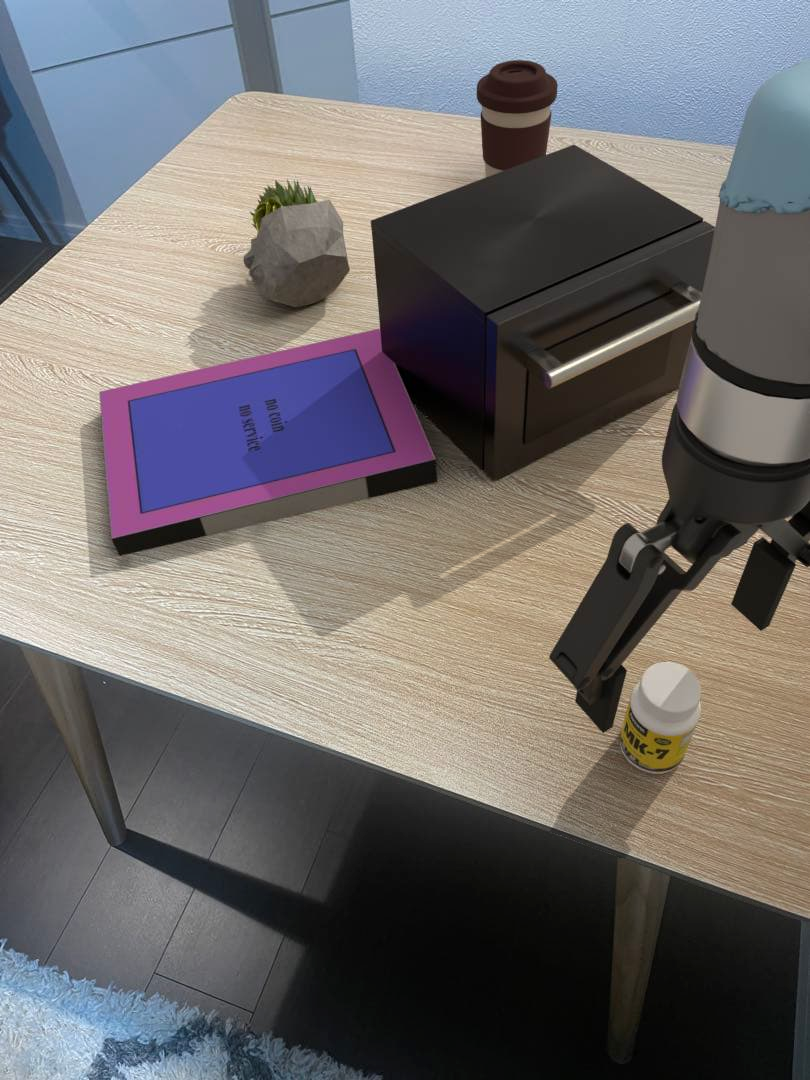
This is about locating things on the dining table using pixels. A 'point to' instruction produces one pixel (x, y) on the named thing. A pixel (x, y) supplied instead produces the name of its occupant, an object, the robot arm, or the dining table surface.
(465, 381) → the oven
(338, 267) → the potted plant
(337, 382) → the book
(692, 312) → the oven door
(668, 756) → the supplement bottle
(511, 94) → the coffee cup
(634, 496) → the dining table surface
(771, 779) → the dining table surface
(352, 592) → the dining table surface
